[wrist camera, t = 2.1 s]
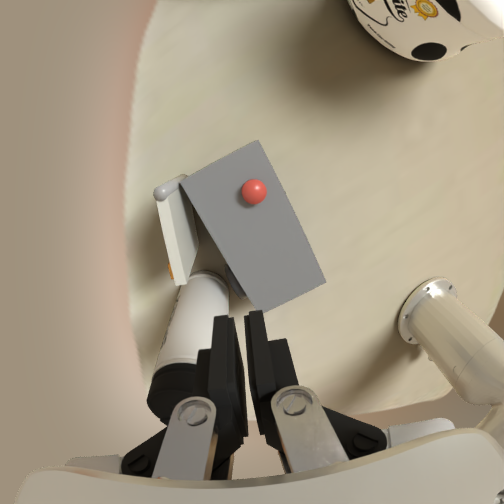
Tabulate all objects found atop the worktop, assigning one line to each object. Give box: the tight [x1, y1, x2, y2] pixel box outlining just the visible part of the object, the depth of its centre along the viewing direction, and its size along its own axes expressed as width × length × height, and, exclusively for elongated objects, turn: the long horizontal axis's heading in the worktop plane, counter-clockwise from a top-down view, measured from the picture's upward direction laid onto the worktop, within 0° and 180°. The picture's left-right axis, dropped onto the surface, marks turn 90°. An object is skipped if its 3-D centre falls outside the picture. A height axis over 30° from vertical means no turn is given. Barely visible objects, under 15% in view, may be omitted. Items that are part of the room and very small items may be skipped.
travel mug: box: [147, 271, 229, 426], centre depth 27 cm, size 6×7×20 cm
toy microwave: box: [180, 140, 326, 313], centre depth 30 cm, size 16×9×7 cm, turn 27°
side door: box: [153, 174, 199, 286], centre depth 27 cm, size 9×2×10 cm, turn 7°
